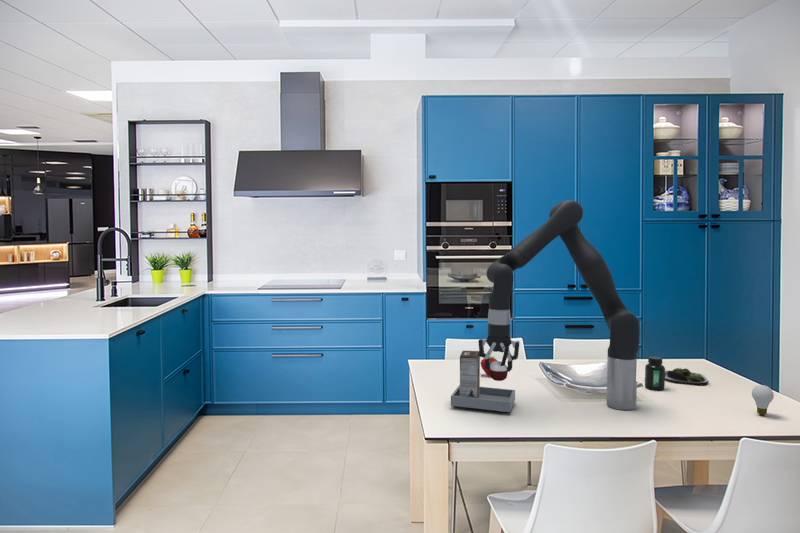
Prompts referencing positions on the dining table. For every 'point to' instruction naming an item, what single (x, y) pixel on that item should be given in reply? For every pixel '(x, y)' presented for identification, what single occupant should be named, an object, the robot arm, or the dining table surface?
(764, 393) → the light bulb
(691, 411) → the dining table surface
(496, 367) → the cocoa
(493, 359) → the strawberry
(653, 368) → the supplement bottle
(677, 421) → the dining table surface
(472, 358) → the coffee box
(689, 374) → the salad plate
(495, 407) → the tray
